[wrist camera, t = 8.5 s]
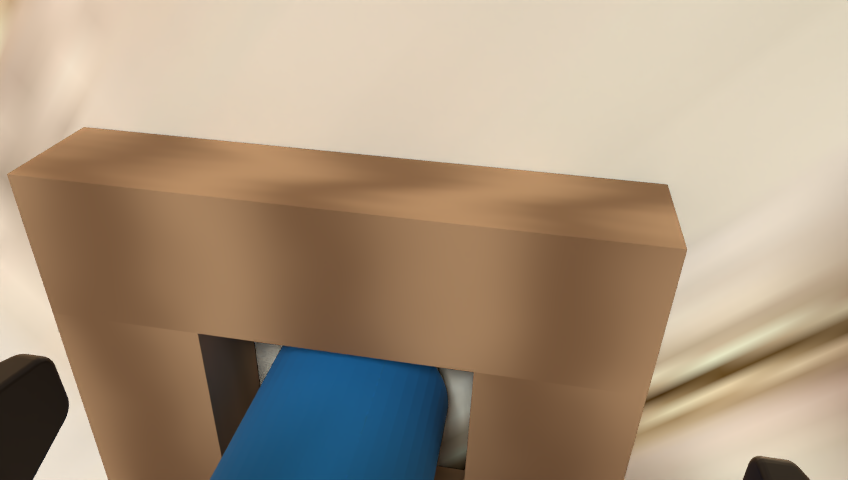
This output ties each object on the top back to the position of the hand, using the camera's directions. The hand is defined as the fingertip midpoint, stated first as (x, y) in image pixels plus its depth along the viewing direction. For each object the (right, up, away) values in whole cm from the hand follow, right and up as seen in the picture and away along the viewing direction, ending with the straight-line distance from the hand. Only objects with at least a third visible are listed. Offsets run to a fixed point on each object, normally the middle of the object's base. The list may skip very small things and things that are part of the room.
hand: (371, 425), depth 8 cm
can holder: (-2, -3, +16) cm, 17 cm away
